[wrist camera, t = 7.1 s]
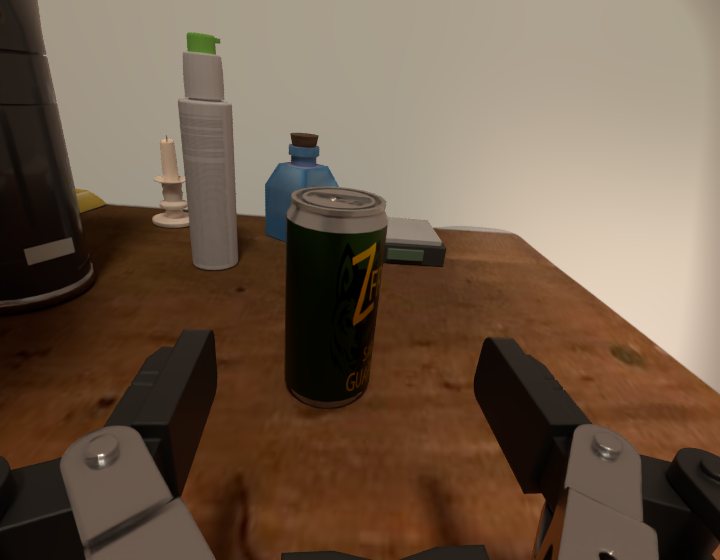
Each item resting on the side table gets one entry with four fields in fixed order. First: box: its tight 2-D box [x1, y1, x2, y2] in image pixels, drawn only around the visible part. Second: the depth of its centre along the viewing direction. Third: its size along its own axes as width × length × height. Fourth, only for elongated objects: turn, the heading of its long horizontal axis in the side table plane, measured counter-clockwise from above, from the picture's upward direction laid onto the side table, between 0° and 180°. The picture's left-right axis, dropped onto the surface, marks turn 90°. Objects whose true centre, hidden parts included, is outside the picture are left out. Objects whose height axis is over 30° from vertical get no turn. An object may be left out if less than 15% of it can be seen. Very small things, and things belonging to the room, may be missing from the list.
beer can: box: [285, 187, 388, 408], centre depth 23 cm, size 5×5×12 cm
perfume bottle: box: [265, 133, 339, 242], centre depth 48 cm, size 6×6×12 cm
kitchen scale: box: [383, 217, 446, 266], centre depth 48 cm, size 9×9×3 cm
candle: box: [152, 136, 190, 228], centre depth 49 cm, size 5×5×10 cm
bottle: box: [178, 33, 238, 270], centre depth 37 cm, size 4×4×20 cm
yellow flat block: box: [75, 189, 106, 213], centre depth 51 cm, size 9×9×2 cm
